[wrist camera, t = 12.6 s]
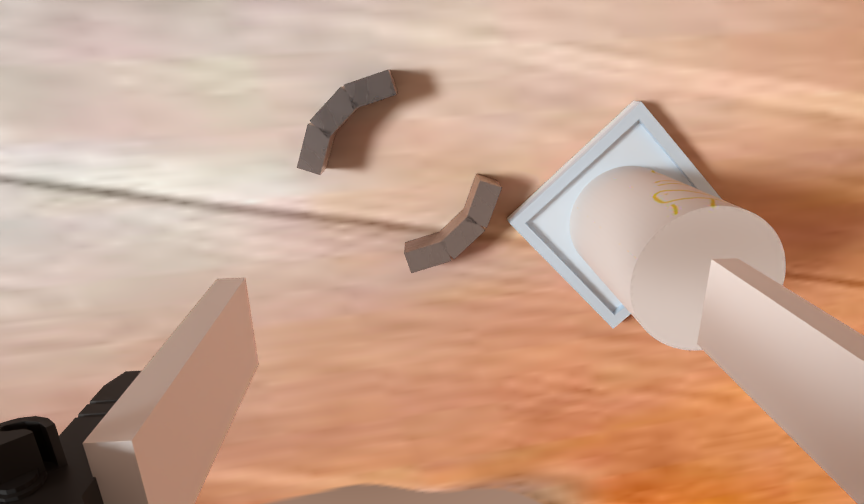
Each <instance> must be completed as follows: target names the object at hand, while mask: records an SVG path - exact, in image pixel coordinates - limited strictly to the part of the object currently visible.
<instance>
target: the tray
mask: <svg viewBox="0 0 864 504" xmlns="http://www.w3.org/2000/svg"><path fill="white" fill-rule="evenodd" d="M622 166H641V167H645V168H649V169H651V170H654V171H656V172H658V173H661V174H663V175H665V176H668V177H670V178H672V179H675V180H677V181H679V182H682V183H684V184H687V185H689V186H691V187H694V188H696V189H698V190H701V191H703V192H705V193H708V194H710V195H713V196H715V197H717V198H720V199H721V197H720V196H719V195H718V194H717V192H716V191H715V190H714V189H713V188H712V186H711V185H710V184H709V183H708V182H707V180H706V179H705V178H704V177H703V176H702V174H701V173H700V172H699V171H698V170H697V168H696V167H695V166H694V165H693V164H692V162H691V161H690V160H689V159H688V157H687V156H686V155H685V154H684V153H683V151H682V150H681V149H680V148H679V147H678V145H677V144H676V143H675V142H674V141H673V139H672V138H671V137H670V136H669V135H668V133H667V132H666V131H665V130H664V128H663V127H662V126H661V125H660V124H659V122H658V121H657V120H656V119H655V118H654V116H653V115H652V114H651V113H650V112H649V110H648V109H647V108H646V107H645V106H644V104H643V103H642V102H639V101H633V102H632V103H630V104H629V105H628V106H627V107H626V108H625V109H624V110H623V111H622V112H621V113H620V114H619V115H618V116H616V117H615V118H614V119H613V120H612V121H611V122H610V123H609V124H608V125H607V126H606V127H605V128H604V129H602V130H601V131H600V132H599V133H598V134H597V135H596V136H595V137H594V138H593V139H592V140H591V141H589V142H588V143H587V144H586V145H585V146H584V147H583V148H582V149H581V150H580V151H579V152H578V153H577V154H575V155H574V156H573V157H572V158H571V159H570V160H569V161H568V162H567V163H566V164H565V165H564V166H563V167H561V168H560V169H559V170H558V171H557V172H556V173H555V174H554V175H553V176H552V177H551V178H550V179H548V180H547V181H546V182H545V183H544V184H543V185H542V186H541V187H540V188H539V189H538V190H537V191H536V192H534V193H533V194H532V195H531V196H530V197H529V198H528V199H527V200H526V201H525V202H524V203H523V204H522V205H520V206H519V207H518V208H517V209H516V210H515V211H514V212H513V213H512V214H511V215H510V216H509V217H508V218H507V220H508V221H509V223H510V224H511V225H512V226H513V227H514V228H515V229H516V230H517V231H518V232H519V233H520V234H521V235H522V236H523V237H524V238H525V239H526V241H527V242H528V243H529V244H530V245H531V246H532V247H533V248H534V249H535V250H536V251H537V252H538V253H539V254H540V255H541V256H542V257H543V258H544V259H545V260H546V261H547V262H548V263H549V264H550V265H551V266H552V267H553V268H554V269H555V270H556V271H557V272H558V273H559V274H560V275H561V276H562V277H563V278H564V279H565V280H566V281H567V282H568V283H569V284H570V285H571V286H572V287H573V288H574V289H575V290H576V291H577V292H578V293H579V294H580V295H581V296H582V297H583V298H584V300H585V301H586V302H587V303H588V304H589V305H590V306H591V307H592V308H593V309H594V310H595V311H596V312H597V313H598V314H599V315H600V316H601V317H602V318H603V319H604V320H605V321H606V322H607V323H608V324H609V325H610V326H611V327H612V328H614V327H616V326H617V325H618V324H619V323H621V322H622V321H623V320H624V319H625V318H627V317H628V316H629V315H630V314H631V313H630V312H629V311H628V310H627V309H626V307H625V306H624V305H623V304H622V303H621V302H620V301H619V299H618V298H617V297H616V296H615V295H614V294H613V293H612V292H611V290H610V289H609V288H608V287H607V286H606V285H605V284H604V282H603V281H602V280H601V279H600V278H599V277H598V276H597V274H596V273H595V272H594V271H593V270H592V269H591V268H590V266H589V265H588V264H587V263H586V262H585V261H584V260H583V258H582V257H581V256H580V255H579V254H578V252H577V251H576V249H575V247H574V245H573V242H572V239H571V235H570V226H569V225H570V215H571V211H572V208H573V205H574V203H575V201H576V199H577V197H578V196H579V194H580V193H581V191H582V190H583V189H584V188H585V186H586V185H587V184H588V183H589V182H591V181H592V180H593V179H594V178H596V177H597V176H599V175H600V174H602V173H604V172H606V171H608V170H611V169H613V168H617V167H622Z"/></svg>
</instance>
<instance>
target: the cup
mask: <svg viewBox="0 0 864 504" xmlns="http://www.w3.org/2000/svg"><path fill="white" fill-rule="evenodd" d="M569 226H570V235H571V239H572V242H573V245H574V247H575V249H576V251H577V252H578V254H579V255H580V256H581V257H582V258H583V260H584V261H585V262H586V263H587V264H588V265H589V266H590V268H591V269H592V270H593V271H594V272H595V273H596V274H597V276H598V277H599V278H600V279H601V280H602V281H603V282H604V284H605V285H606V286H607V287H608V288H609V289H610V290H611V292H612V293H613V294H614V295H615V296H616V297H617V298H618V299H619V301H620V302H621V303H622V304H623V305H624V306H625V307H626V309H627V310H628V311H629V312H630V313H631V314H632V315H633V317H634V318H635V319H636V320H637V321H638V322H639V323H640V325H641V326H642V327H643V328H644V329H645V330H646V331H647V332H648V333H649V334H650V335H651V336H652V337H653V338H655V339H656V340H658V341H660V342H661V343H663V344H666V345H668V346H671V347H674V348H678V349H683V350H703V349H702V348H701V347H700V346H699V345H697V341H698V335H699V329H700V324H701V318H702V312H703V306H704V300H705V294H706V288H707V283H708V277H709V271H710V265H711V259H728V258H738V259H740V260H742V261H743V262H745V263H746V264H748V265H750V266H751V267H753V268H755V269H756V270H758V271H759V272H761V273H763V274H764V275H766V276H768V277H769V278H771V279H772V280H774V281H776V282H777V283H779V284H781V285H782V286H783V283H784V279H785V271H786V260H785V253H784V249H783V246H782V243H781V241H780V239H779V237H778V235H777V233H776V232H775V231H774V229H773V228H772V227H771V226H770V225H769V224H768V223H767V222H766V221H765V220H764V219H762V218H761V217H760V216H758V215H756V214H754V213H752V212H750V211H748V210H746V209H743V208H741V207H738V206H736V205H734V204H731V203H729V202H727V201H724V200H722V199H720V198H717V197H715V196H713V195H710V194H708V193H705V192H703V191H701V190H698V189H696V188H694V187H691V186H689V185H687V184H684V183H682V182H679V181H677V180H675V179H672V178H670V177H668V176H665V175H663V174H661V173H658V172H656V171H654V170H651V169H649V168H645V167H641V166H622V167H617V168H613V169H611V170H608V171H606V172H604V173H602V174H600V175H599V176H597V177H596V178H594V179H593V180H592V181H591V182H589V183H588V184H587V185H586V186H585V188H584V189H583V190H582V191H581V193H580V194H579V196H578V197H577V199H576V201H575V203H574V205H573V208H572V211H571V215H570V225H569Z"/></svg>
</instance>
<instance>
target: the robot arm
mask: <svg viewBox="0 0 864 504" xmlns="http://www.w3.org/2000/svg"><path fill="white" fill-rule="evenodd" d="M697 345H699V346H700V347H701V348H702V349H703V350H704V351H705V352H706V353H707V354H708V355H709V356H710V357H711V358H712V359H713V360H714V361H715V362H716V363H717V364H718V365H719V366H720V367H721V368H722V369H723V370H724V371H725V372H726V373H727V374H728V375H729V376H730V377H731V378H732V379H733V380H734V381H735V382H736V383H737V384H738V385H739V386H740V387H741V388H742V389H743V390H744V391H745V392H746V393H747V394H748V395H749V396H750V397H751V398H752V399H753V400H754V401H755V402H756V403H757V404H758V405H759V406H760V407H761V408H762V409H763V410H764V411H765V412H766V413H767V414H768V415H769V416H770V417H771V418H772V419H773V420H774V421H775V422H776V423H777V424H778V425H779V426H780V427H781V428H782V429H783V430H784V431H785V432H786V433H787V434H788V435H789V436H790V437H791V438H792V439H793V440H794V441H795V442H796V443H797V444H798V445H799V446H800V447H801V448H802V449H803V450H804V451H805V452H806V453H807V454H808V455H809V456H810V457H811V458H812V459H813V460H814V461H815V462H816V463H817V464H818V465H819V466H820V467H821V468H822V469H823V470H824V471H825V472H826V473H827V474H828V475H829V476H830V477H831V478H832V479H833V480H834V481H835V482H836V483H837V484H838V485H839V486H840V487H841V488H842V489H843V490H844V491H845V492H846V493H847V494H848V495H849V496H850V497H851V498H852V499H853V500H855V501H856V502H857V503H858V504H864V336H863V335H862V334H860V333H858V332H857V331H855V330H854V329H852V328H850V327H849V326H847V325H845V324H844V323H842V322H841V321H839V320H837V319H836V318H834V317H832V316H831V315H829V314H828V313H826V312H824V311H823V310H821V309H820V308H818V307H816V306H815V305H813V304H811V303H810V302H808V301H807V300H805V299H803V298H802V297H800V296H798V295H797V294H795V293H794V292H792V291H790V290H789V289H787V288H785V287H784V286H782V285H781V284H779V283H777V282H776V281H774V280H772V279H771V278H769V277H768V276H766V275H764V274H763V273H761V272H759V271H758V270H756V269H755V268H753V267H751V266H750V265H748V264H746V263H745V262H743V261H742V260H740V259H738V258H728V259H711V265H710V271H709V277H708V283H707V288H706V294H705V300H704V306H703V312H702V318H701V324H700V329H699V335H698V341H697ZM258 365H259V362H258V356H257V350H256V343H255V337H254V330H253V324H252V317H251V311H250V305H249V298H248V292H247V285H246V279H245V278H224V279H217V280H216V281H215V282H214V283H213V284H212V286H211V287H210V288H209V289H208V291H207V292H206V293H205V294H204V295H203V297H202V298H201V299H200V300H199V301H198V303H197V304H196V305H195V306H194V308H193V309H192V310H191V311H190V312H189V314H188V315H187V316H186V317H185V319H184V320H183V321H182V322H181V323H180V325H179V326H178V327H177V328H176V330H175V331H174V332H173V333H172V334H171V336H170V337H169V338H168V339H167V341H166V342H165V343H164V344H163V345H162V347H161V348H160V349H159V350H158V352H157V353H156V354H155V355H154V356H153V358H152V359H151V360H150V361H149V363H148V364H147V365H146V366H145V367H144V369H143V370H142V371H127V372H124V373H123V374H121V375H120V376H118V377H117V378H115V379H114V380H112V381H110V382H109V383H107V384H106V385H104V386H103V387H102V389H101V390H100V391H99V392H98V393H97V394H96V395H95V396H94V398H93V399H92V400H91V401H90V404H87V405H86V406H85V408H84V409H83V410H82V411H81V412H80V413H79V414H78V415H79V416H78V418H75V419H74V420H73V421H72V422H71V423H70V424H69V425H68V427H67V428H66V429H65V430H64V431H63V432H62V433H61V434H60V435H58V432H57V429H56V426H55V424H54V423H53V422H52V421H51V420H50V419H48V418H44V417H37V416H33V417H24V418H17V419H13V420H10V421H6V422H3V423H0V504H194V503H195V501H196V499H197V497H198V495H199V493H200V490H201V488H202V486H203V484H204V482H205V480H206V477H207V475H208V473H209V471H210V469H211V467H212V464H213V462H214V460H215V458H216V456H217V454H218V451H219V449H220V447H221V445H222V443H223V441H224V438H225V436H226V434H227V432H228V430H229V428H230V425H231V423H232V421H233V419H234V417H235V415H236V412H237V410H238V408H239V406H240V404H241V402H242V399H243V397H244V395H245V393H246V391H247V389H248V386H249V384H250V382H251V380H252V378H253V376H254V373H255V371H256V369H257V367H258Z"/></svg>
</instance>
